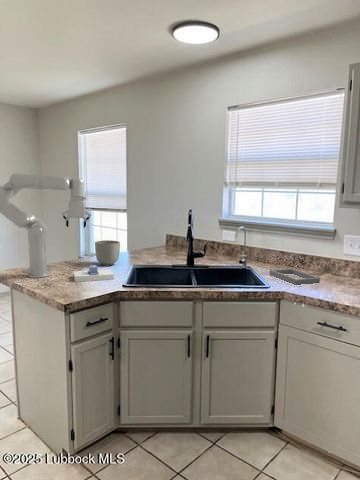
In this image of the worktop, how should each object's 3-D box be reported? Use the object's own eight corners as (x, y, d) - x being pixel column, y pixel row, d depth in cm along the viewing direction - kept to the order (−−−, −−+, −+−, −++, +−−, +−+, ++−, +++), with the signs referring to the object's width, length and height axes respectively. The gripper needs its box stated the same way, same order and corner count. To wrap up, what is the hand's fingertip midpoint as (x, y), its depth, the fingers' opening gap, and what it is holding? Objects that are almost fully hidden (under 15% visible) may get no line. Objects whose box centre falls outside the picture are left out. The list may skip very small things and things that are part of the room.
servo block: (88, 275, 223) (88, 264, 222) (95, 275, 224) (95, 263, 223) (90, 280, 213) (90, 267, 212) (98, 279, 214) (98, 267, 213)
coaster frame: (295, 286, 210) (296, 280, 209) (269, 275, 235) (269, 269, 234) (319, 284, 216) (320, 278, 215) (291, 274, 240) (291, 268, 240)
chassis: (75, 281, 209) (75, 276, 208) (73, 276, 221) (73, 271, 220) (113, 279, 216) (113, 274, 216) (109, 274, 228) (109, 269, 228)
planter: (91, 263, 257) (90, 241, 255) (113, 261, 267) (113, 239, 265) (101, 268, 244) (101, 244, 241) (124, 265, 254) (124, 242, 251)
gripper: (91, 199, 225) (90, 227, 227) (61, 198, 219) (60, 226, 221) (92, 200, 218) (91, 228, 220) (61, 198, 212) (61, 227, 214)
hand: (76, 227), depth 221 cm, fingers open, 9 cm apart
